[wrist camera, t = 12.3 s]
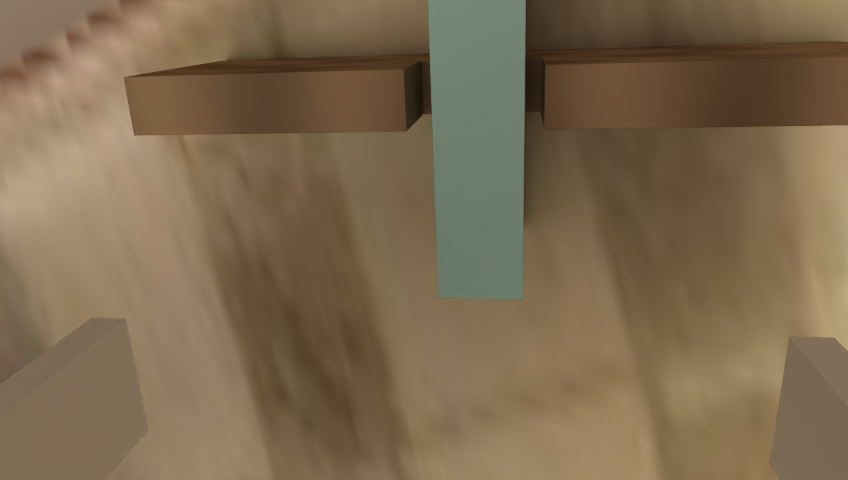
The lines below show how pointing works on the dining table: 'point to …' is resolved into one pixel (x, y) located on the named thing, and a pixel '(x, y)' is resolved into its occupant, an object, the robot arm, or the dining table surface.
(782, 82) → the walnut board
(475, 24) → the teal green block
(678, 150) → the dining table surface
